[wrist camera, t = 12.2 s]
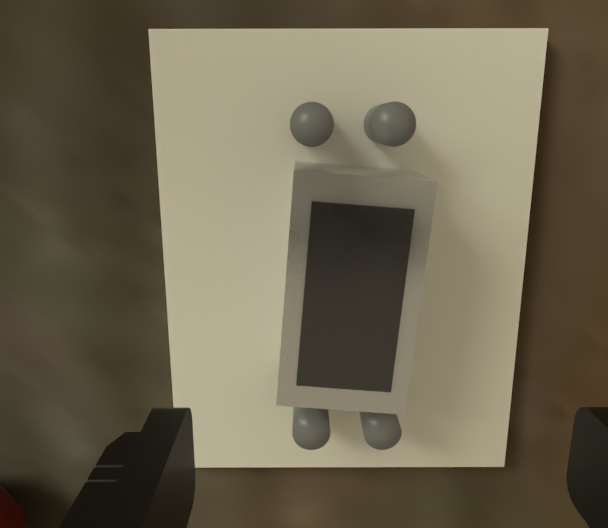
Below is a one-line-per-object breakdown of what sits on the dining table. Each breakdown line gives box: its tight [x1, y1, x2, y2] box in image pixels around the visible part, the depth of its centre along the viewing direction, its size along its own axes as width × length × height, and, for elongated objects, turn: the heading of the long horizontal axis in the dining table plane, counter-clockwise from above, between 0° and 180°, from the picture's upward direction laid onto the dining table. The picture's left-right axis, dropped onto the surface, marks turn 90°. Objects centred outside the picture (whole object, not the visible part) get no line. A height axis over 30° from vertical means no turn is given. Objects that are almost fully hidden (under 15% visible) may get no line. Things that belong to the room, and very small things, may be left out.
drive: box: [276, 161, 438, 415], centre depth 22 cm, size 5×9×5 cm, turn 175°
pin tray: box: [148, 28, 548, 468], centre depth 24 cm, size 16×20×4 cm
